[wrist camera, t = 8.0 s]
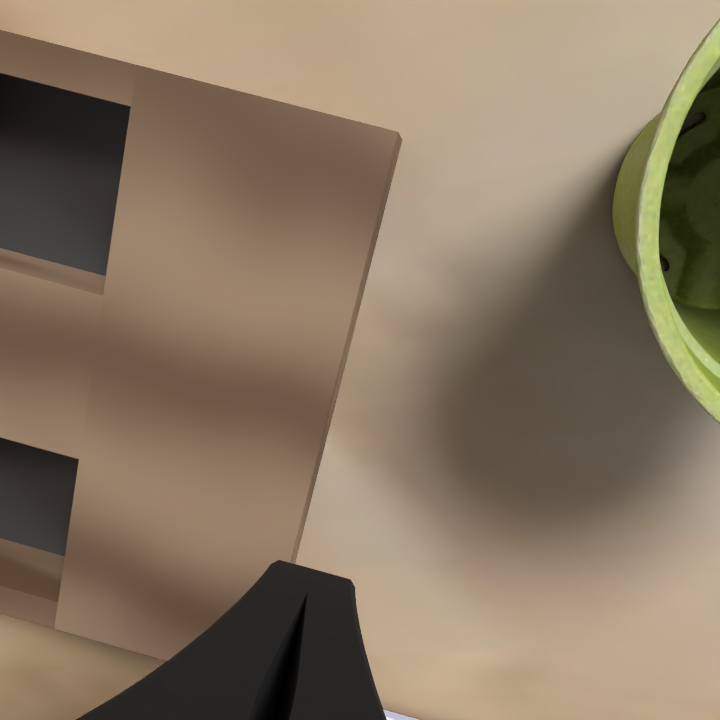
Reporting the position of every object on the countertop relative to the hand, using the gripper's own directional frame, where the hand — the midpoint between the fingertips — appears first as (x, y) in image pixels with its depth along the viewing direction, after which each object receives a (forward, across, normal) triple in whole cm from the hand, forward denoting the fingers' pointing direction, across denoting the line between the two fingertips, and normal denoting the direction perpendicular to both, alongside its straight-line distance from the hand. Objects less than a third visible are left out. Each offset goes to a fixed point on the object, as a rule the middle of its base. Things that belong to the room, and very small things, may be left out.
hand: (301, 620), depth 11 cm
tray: (+10, +9, 0) cm, 14 cm away
